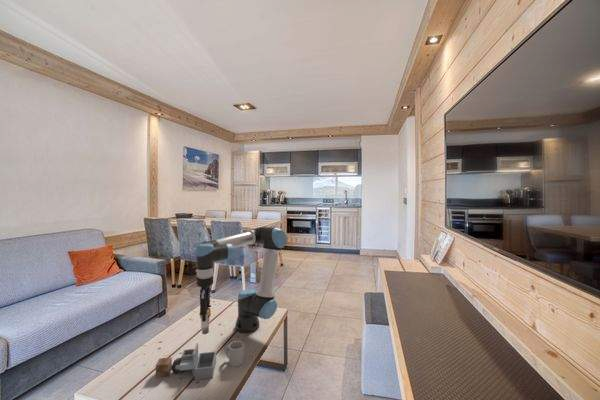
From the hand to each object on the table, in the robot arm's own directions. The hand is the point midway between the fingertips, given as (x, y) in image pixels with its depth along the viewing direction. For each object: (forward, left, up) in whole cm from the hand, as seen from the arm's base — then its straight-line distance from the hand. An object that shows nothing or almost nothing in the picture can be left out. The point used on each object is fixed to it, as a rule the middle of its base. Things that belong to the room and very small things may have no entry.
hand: (205, 324), depth 125 cm
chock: (+19, -1, -23) cm, 30 cm away
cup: (-13, -4, -23) cm, 27 cm away
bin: (0, 0, -23) cm, 23 cm away
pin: (0, 0, -4) cm, 4 cm away
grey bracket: (+10, -1, -23) cm, 25 cm away
